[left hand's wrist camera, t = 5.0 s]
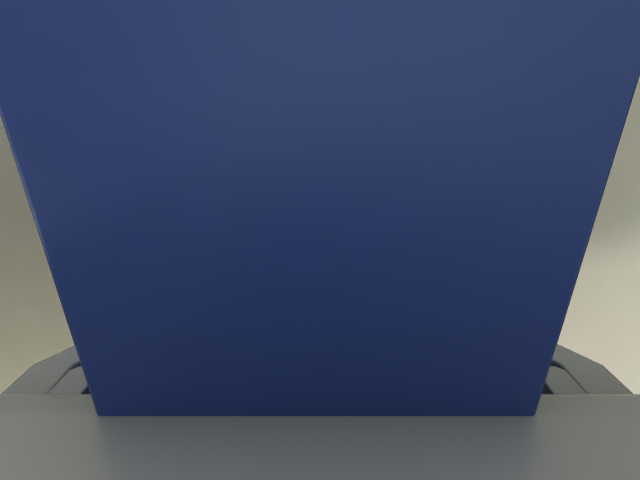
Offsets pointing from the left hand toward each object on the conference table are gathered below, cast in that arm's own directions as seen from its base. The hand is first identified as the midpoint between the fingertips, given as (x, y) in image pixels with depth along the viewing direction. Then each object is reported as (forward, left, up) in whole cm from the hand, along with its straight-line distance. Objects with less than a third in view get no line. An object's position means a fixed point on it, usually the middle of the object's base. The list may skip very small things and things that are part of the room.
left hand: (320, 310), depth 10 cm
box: (+8, 0, -6) cm, 10 cm away
